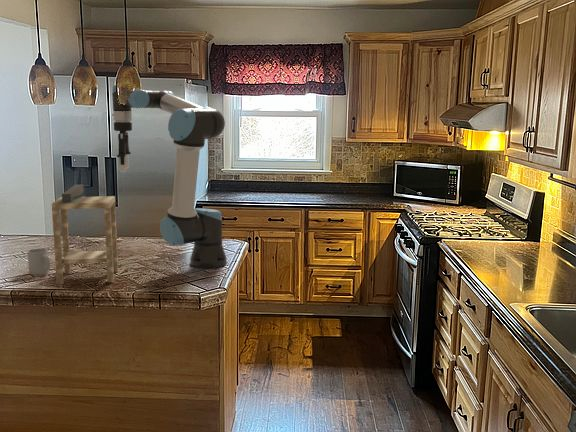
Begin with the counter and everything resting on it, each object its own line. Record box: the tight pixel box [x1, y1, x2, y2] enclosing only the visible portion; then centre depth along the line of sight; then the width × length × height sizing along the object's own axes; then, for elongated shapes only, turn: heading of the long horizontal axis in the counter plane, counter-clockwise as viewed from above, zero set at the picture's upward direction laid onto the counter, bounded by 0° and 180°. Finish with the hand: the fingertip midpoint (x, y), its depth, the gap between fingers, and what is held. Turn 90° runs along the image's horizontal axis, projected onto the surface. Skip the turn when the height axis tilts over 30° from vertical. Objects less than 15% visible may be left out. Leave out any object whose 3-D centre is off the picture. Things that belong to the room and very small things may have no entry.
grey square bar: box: [61, 184, 84, 202], centre depth 220 cm, size 3×26×3 cm, turn 10°
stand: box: [51, 195, 119, 285], centre depth 218 cm, size 20×16×30 cm
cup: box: [27, 248, 51, 276], centre depth 225 cm, size 7×10×9 cm
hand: (124, 170), depth 253 cm, fingers open, 13 cm apart
